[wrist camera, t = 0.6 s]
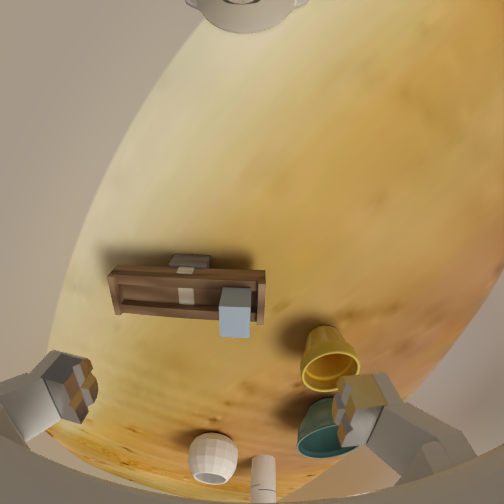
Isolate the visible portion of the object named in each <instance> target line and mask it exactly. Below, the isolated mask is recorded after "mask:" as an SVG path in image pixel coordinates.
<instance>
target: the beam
mask: <svg viewBox="0 0 504 504" xmlns="http://www.w3.org/2000/svg"><path fill="white" fill-rule="evenodd" d="M107 278H108V283H109V288H110V293H111V297H112V302H113V306H114V310H115V315H121V314H122V313H132V314H142V315H153V316H164V317H177V318H191V319H207V320H219V303H220V299H221V294H222V290H223V287H227V288H251V315H250V321H251V322H257V325H264V307H265V288H266V279H265V270H237V269H210V255H189V254H175V255H174V256H173V258H172V259H171V261H170V263H169V267H160V266H139V265H119V264H118V265H117V266H116V268H115V269H114V270H113V271H112V272H111V273H110V274H109V275H108V276H107Z"/></svg>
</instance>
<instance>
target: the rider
mask: <svg viewBox="0 0 504 504" xmlns="http://www.w3.org/2000/svg"><path fill="white" fill-rule="evenodd" d="M250 315H251V288H227V287H223V290H222V294H221V299H220V303H219V323H220V337H237V338H249V337H250Z"/></svg>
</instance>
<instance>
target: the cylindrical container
mask: <svg viewBox="0 0 504 504" xmlns="http://www.w3.org/2000/svg"><path fill="white" fill-rule="evenodd" d="M250 503H276V478H275V458H274V457H273V456H270V455H258V456H255V457H253V458H252V469H251V501H250Z"/></svg>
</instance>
